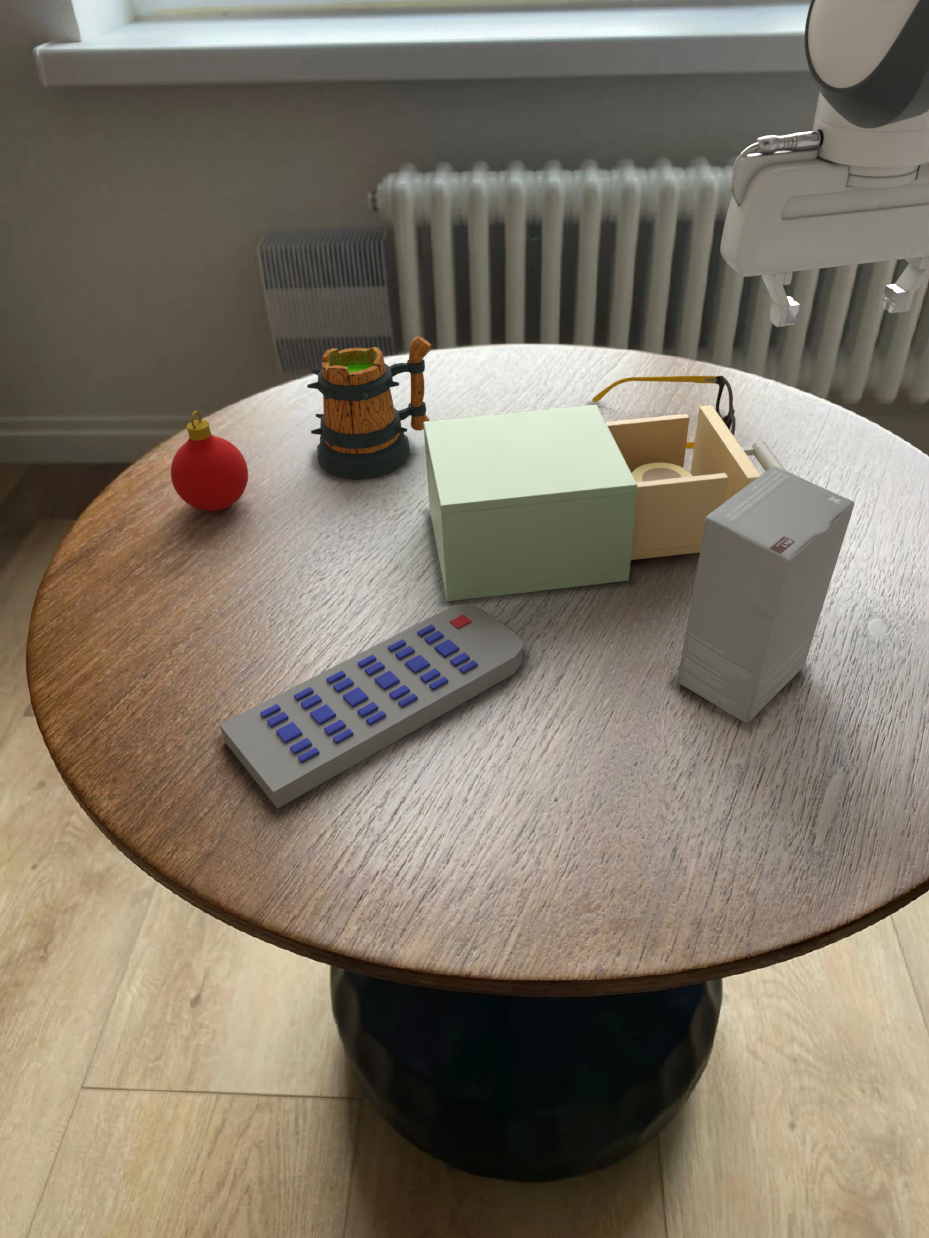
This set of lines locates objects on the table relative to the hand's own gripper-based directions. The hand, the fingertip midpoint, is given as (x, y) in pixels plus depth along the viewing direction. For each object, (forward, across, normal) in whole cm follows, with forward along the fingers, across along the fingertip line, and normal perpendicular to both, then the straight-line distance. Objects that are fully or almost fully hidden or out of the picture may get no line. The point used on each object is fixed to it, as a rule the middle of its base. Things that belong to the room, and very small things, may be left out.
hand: (838, 316), depth 76 cm
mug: (+19, -36, +21) cm, 46 cm away
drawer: (+18, -12, +1) cm, 22 cm away
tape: (+17, -13, +1) cm, 21 cm away
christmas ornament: (+19, -53, +15) cm, 58 cm away
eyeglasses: (+19, -8, +17) cm, 26 cm away
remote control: (+19, -40, -16) cm, 47 cm away
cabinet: (+19, -25, +1) cm, 31 cm away
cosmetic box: (+19, -13, -19) cm, 30 cm away
